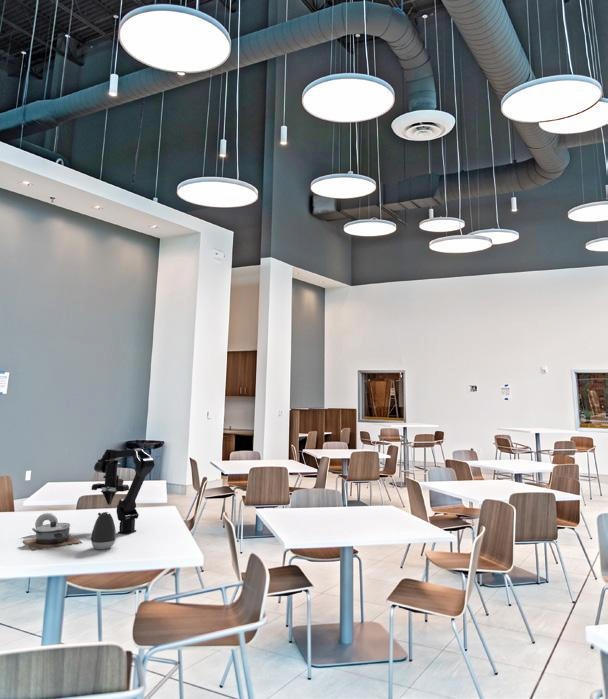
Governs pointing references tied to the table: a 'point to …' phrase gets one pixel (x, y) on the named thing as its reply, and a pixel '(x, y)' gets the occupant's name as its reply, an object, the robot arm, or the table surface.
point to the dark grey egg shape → (103, 531)
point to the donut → (44, 517)
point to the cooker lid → (51, 527)
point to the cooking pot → (52, 537)
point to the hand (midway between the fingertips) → (109, 504)
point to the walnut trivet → (35, 546)
